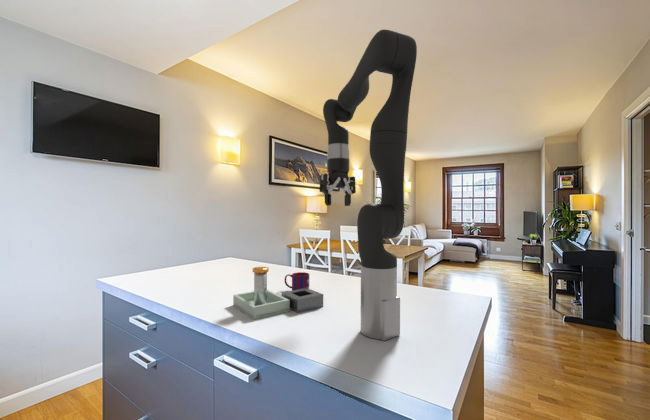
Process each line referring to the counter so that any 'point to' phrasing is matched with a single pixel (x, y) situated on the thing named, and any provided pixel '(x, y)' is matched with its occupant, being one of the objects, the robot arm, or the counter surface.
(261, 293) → the pin
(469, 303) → the counter surface
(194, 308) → the counter surface
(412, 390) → the counter surface
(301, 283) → the mug
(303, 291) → the block
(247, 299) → the tray
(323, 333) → the counter surface
